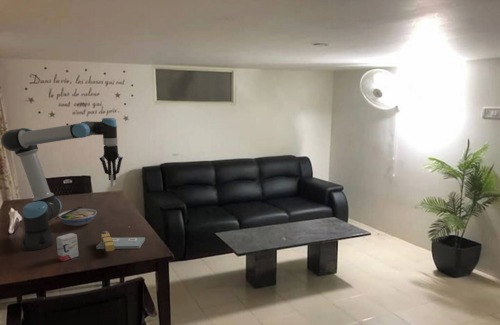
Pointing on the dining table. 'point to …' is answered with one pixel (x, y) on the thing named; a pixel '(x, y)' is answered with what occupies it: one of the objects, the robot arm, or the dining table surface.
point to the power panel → (124, 243)
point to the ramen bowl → (77, 216)
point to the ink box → (67, 247)
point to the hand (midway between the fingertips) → (112, 185)
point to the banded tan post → (107, 241)
